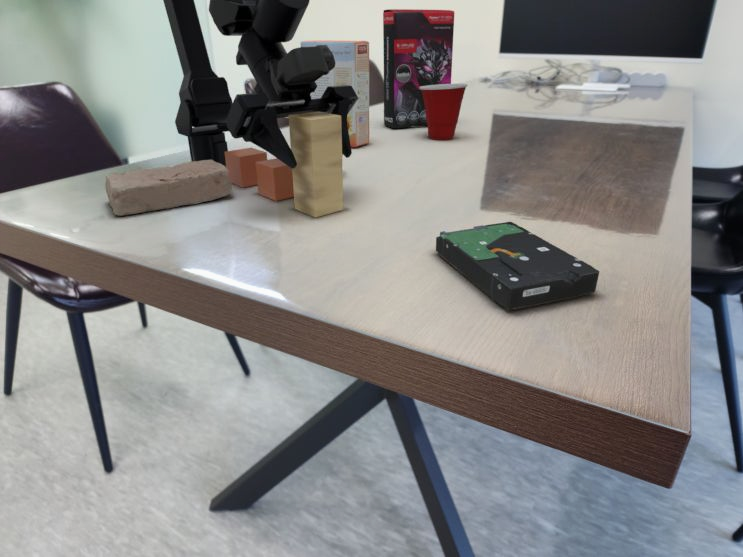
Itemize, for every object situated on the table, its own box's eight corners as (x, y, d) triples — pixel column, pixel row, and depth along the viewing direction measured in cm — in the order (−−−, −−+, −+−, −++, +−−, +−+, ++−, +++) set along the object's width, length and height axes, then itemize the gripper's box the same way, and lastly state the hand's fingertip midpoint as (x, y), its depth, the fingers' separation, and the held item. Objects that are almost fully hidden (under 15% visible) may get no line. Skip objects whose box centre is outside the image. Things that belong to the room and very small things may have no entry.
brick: (117, 218, 69) (109, 184, 67) (107, 202, 75) (100, 170, 73) (235, 199, 77) (231, 168, 75) (217, 186, 83) (214, 157, 81)
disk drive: (596, 296, 50) (508, 240, 62) (603, 270, 48) (511, 219, 60) (507, 315, 46) (432, 252, 58) (511, 288, 45) (434, 230, 57)
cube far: (228, 181, 85) (224, 151, 83) (254, 176, 88) (251, 147, 86) (242, 187, 82) (239, 156, 80) (269, 182, 85) (266, 152, 83)
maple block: (294, 209, 72) (288, 115, 67) (322, 201, 75) (318, 111, 70) (315, 217, 69) (310, 119, 63) (343, 210, 72) (341, 115, 66)
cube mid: (258, 193, 79) (255, 162, 77) (285, 187, 82) (282, 157, 80) (275, 201, 76) (272, 168, 73) (303, 194, 79) (301, 162, 76)
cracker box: (370, 143, 113) (370, 40, 104) (355, 148, 108) (354, 41, 99) (320, 137, 120) (316, 39, 110) (304, 141, 115) (299, 40, 106)
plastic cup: (431, 131, 126) (434, 80, 121) (471, 136, 121) (475, 83, 115) (408, 138, 118) (410, 84, 113) (449, 144, 113) (453, 87, 107)
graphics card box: (392, 130, 128) (394, 8, 116) (380, 125, 134) (381, 9, 122) (449, 125, 135) (457, 9, 122) (436, 121, 140) (442, 10, 128)
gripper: (225, 21, 59) (285, 132, 56) (348, 22, 70) (403, 115, 67) (204, 88, 67) (255, 186, 65) (317, 79, 79) (364, 163, 76)
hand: (323, 161), depth 68 cm, fingers open, 9 cm apart
